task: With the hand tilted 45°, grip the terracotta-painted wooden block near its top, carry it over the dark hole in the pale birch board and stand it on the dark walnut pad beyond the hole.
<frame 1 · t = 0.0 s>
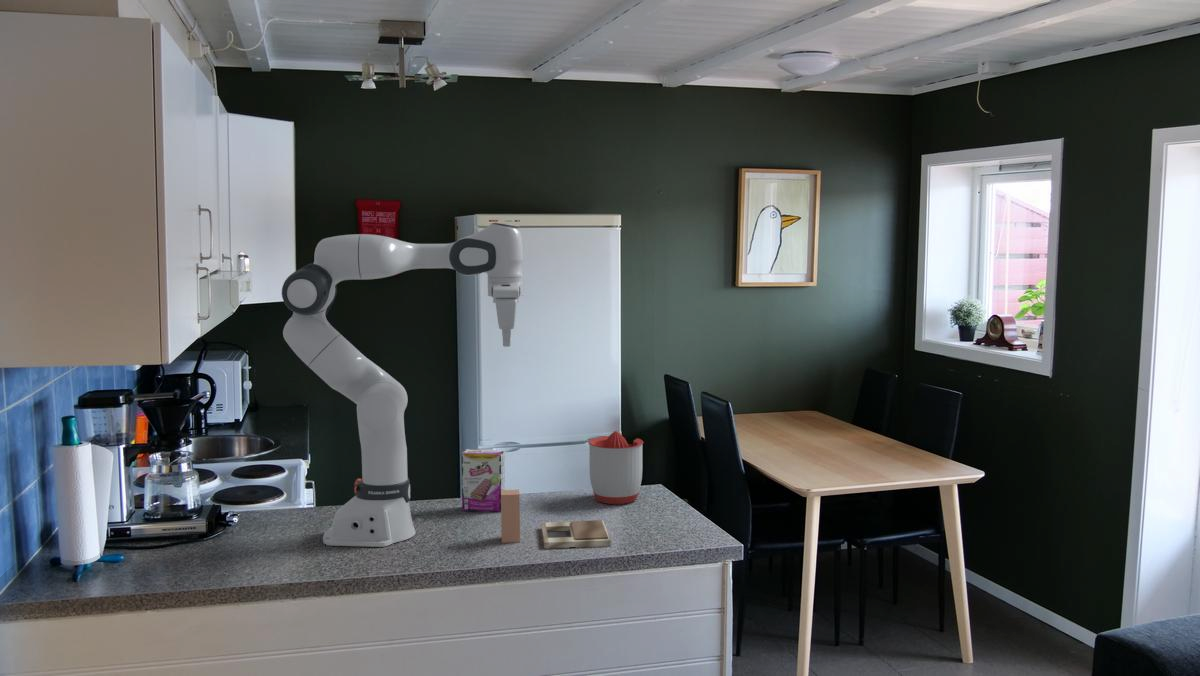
hand: (506, 344, 233), 48 cm above the worktop, tool pointing down, fingers open, 8 cm apart
hole board: (574, 536, 233), on the worktop
citrus juicer: (617, 499, 267), on the worktop
terracotta block: (510, 539, 231), on the worktop
candy bar box: (483, 510, 257), on the worktop
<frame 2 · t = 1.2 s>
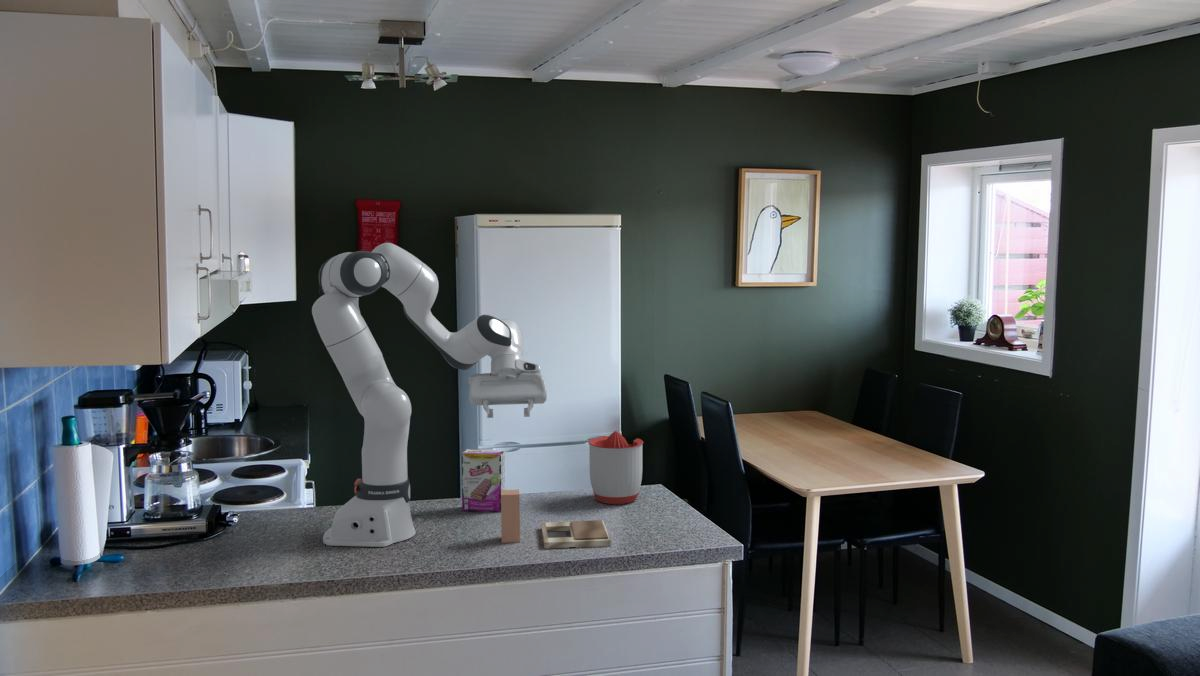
hand: (508, 416, 240), 29 cm above the worktop, tool tilted 45°, fingers open, 8 cm apart
nothing on the worktop moved.
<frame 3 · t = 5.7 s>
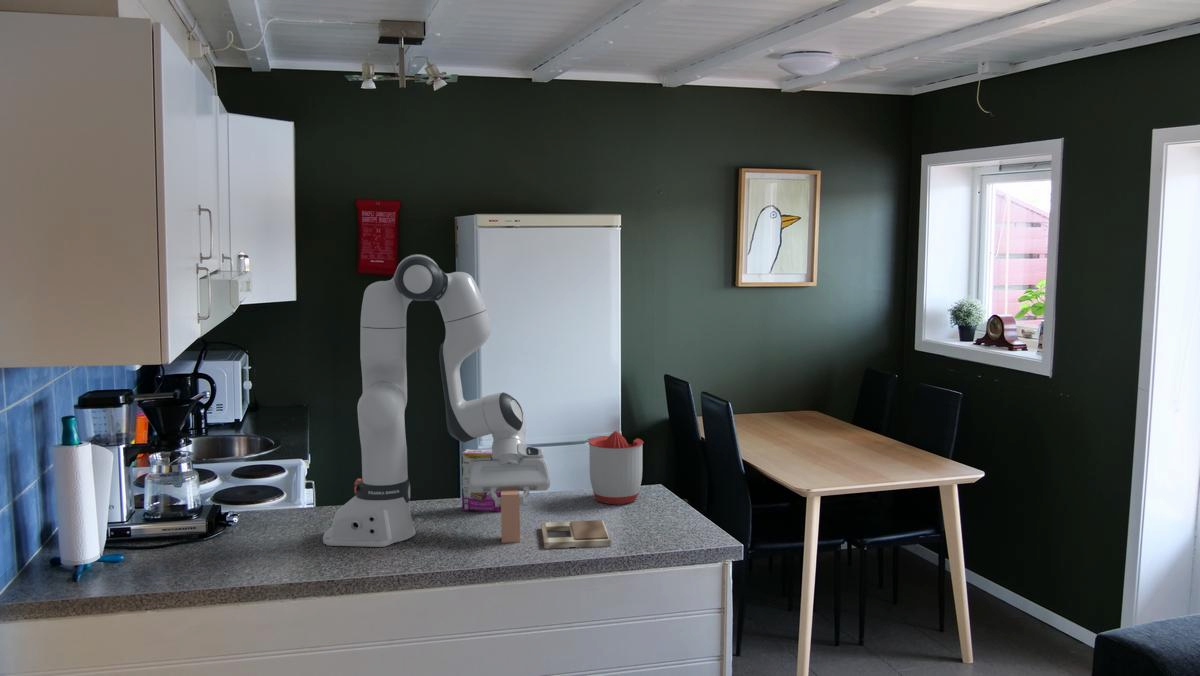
hand: (510, 505, 229), 9 cm above the worktop, tool tilted 45°, fingers closed on terracotta block, 4 cm apart
terracotta block: (510, 539, 231), on the worktop, touching gripper
everything else where it was.
when the fingers open (12 cm above the worktop, at t = 12.1 s): terracotta block drops 2 cm, resting on hole board.
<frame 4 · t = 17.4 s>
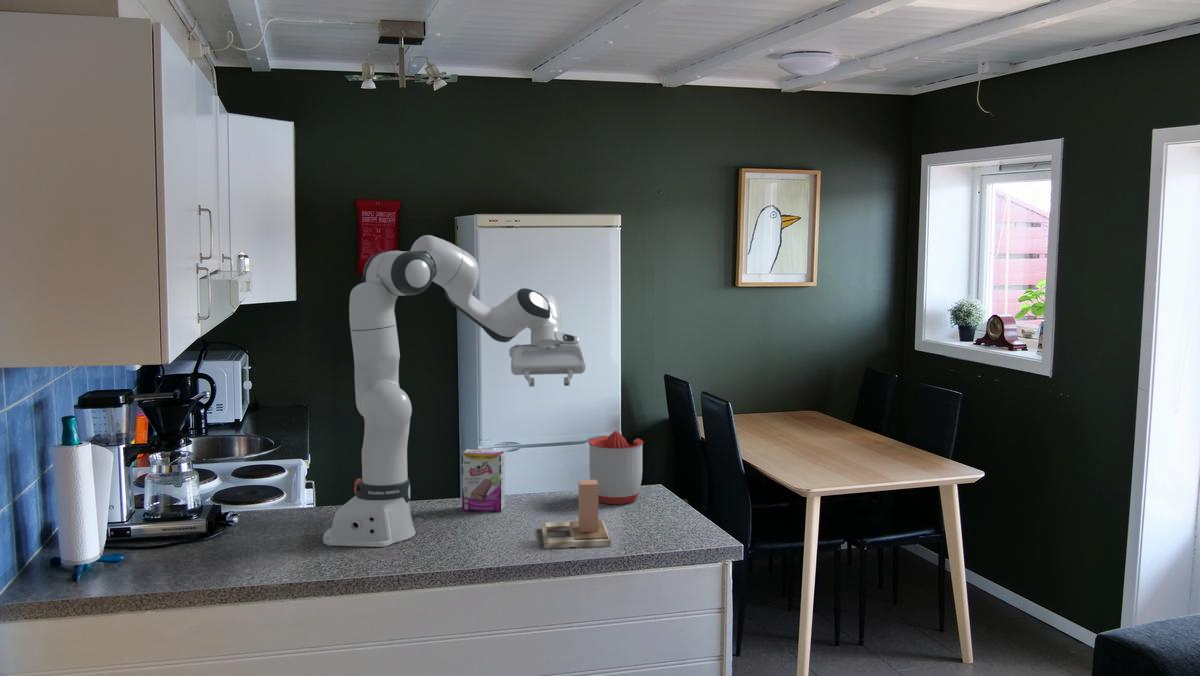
hand: (549, 384, 249), 35 cm above the worktop, tool tilted 45°, fingers open, 8 cm apart
terracotta block: (588, 529, 233), point 2 cm above the worktop, touching hole board
everything else where it was.
at the end: terracotta block inside the target area (0.1 cm from its centre), point 1.9 cm above the worktop; terracotta block tilted 0°; the gripper is holding nothing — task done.
